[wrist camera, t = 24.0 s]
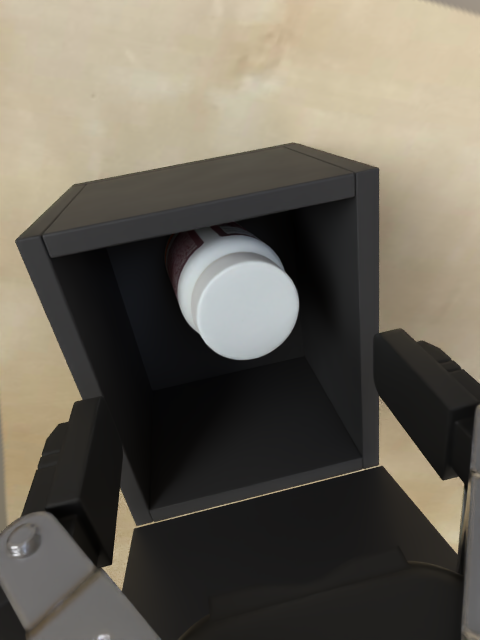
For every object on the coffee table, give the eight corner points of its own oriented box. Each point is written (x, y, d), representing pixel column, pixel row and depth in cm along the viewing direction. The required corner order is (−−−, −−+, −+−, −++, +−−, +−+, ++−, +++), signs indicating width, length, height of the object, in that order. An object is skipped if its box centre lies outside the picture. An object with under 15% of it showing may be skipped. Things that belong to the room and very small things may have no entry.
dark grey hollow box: (72, 184, 21) (13, 240, 13) (294, 142, 22) (379, 167, 14) (143, 395, 28) (136, 526, 19) (313, 356, 29) (379, 465, 20)
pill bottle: (188, 310, 24) (218, 390, 17) (147, 235, 22) (161, 289, 14) (262, 272, 24) (324, 334, 17) (229, 195, 22) (284, 227, 15)
